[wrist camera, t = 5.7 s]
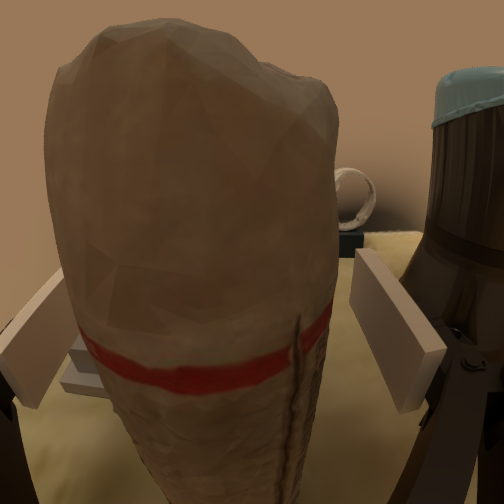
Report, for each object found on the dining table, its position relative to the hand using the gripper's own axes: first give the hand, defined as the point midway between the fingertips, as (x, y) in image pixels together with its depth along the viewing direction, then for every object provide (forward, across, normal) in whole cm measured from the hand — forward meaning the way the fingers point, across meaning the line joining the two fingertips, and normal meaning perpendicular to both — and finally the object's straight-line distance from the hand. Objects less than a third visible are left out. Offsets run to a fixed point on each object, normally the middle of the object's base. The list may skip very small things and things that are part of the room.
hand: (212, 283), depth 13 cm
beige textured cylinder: (-4, 0, -11) cm, 12 cm away
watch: (+26, +14, -11) cm, 32 cm away
